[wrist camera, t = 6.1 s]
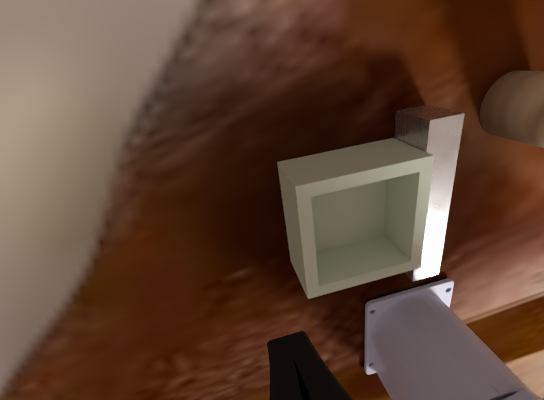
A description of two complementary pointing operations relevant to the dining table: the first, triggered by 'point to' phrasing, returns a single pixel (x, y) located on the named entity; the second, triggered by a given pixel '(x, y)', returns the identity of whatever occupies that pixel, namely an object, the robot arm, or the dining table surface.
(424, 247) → the rail
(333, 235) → the socket block
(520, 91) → the dowel
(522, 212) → the dining table surface
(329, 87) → the dining table surface
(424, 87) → the dining table surface
